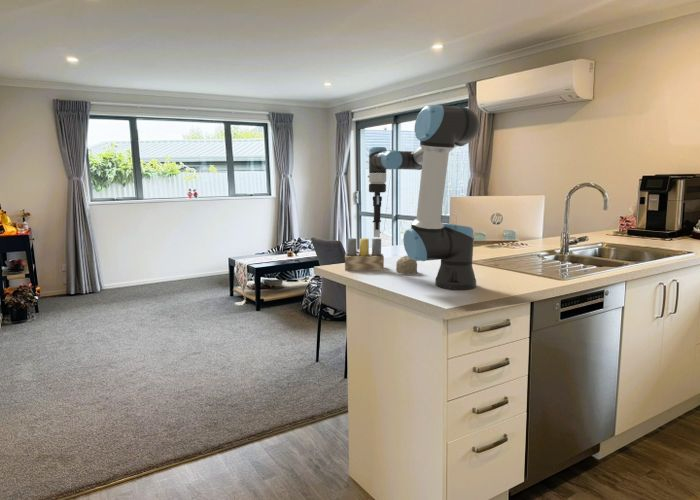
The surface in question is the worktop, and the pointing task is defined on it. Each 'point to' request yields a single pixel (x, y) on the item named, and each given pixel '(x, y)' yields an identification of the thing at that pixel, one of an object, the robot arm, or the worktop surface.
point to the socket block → (364, 262)
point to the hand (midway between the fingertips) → (376, 236)
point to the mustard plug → (364, 247)
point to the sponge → (406, 265)
